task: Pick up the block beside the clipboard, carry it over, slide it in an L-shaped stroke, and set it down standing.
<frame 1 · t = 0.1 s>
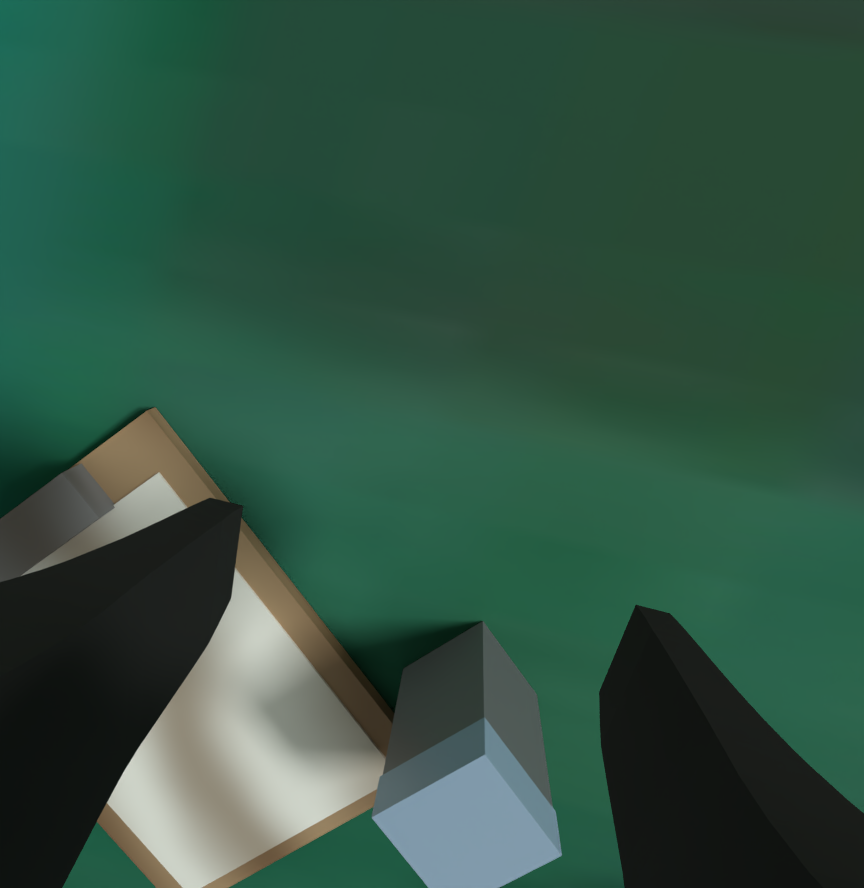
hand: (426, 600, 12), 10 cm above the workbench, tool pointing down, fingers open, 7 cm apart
block: (469, 681, 24), on the workbench
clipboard: (172, 677, 25), on the workbench
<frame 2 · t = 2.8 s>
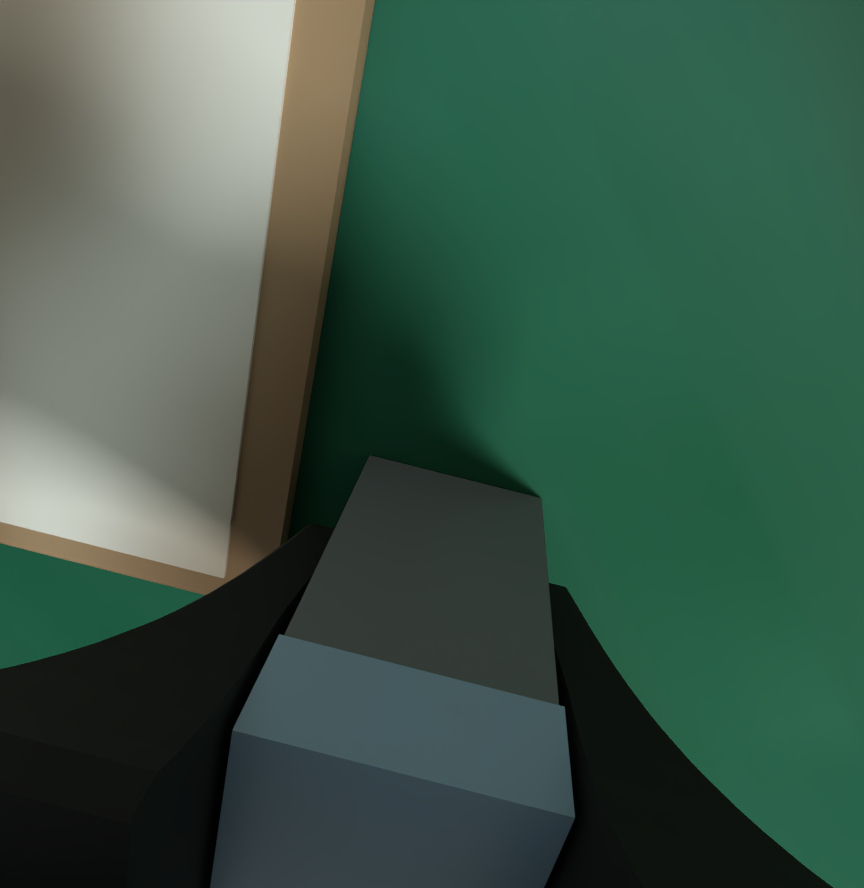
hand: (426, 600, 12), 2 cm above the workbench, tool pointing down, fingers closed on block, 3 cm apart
block: (435, 550, 14), on the workbench, touching gripper
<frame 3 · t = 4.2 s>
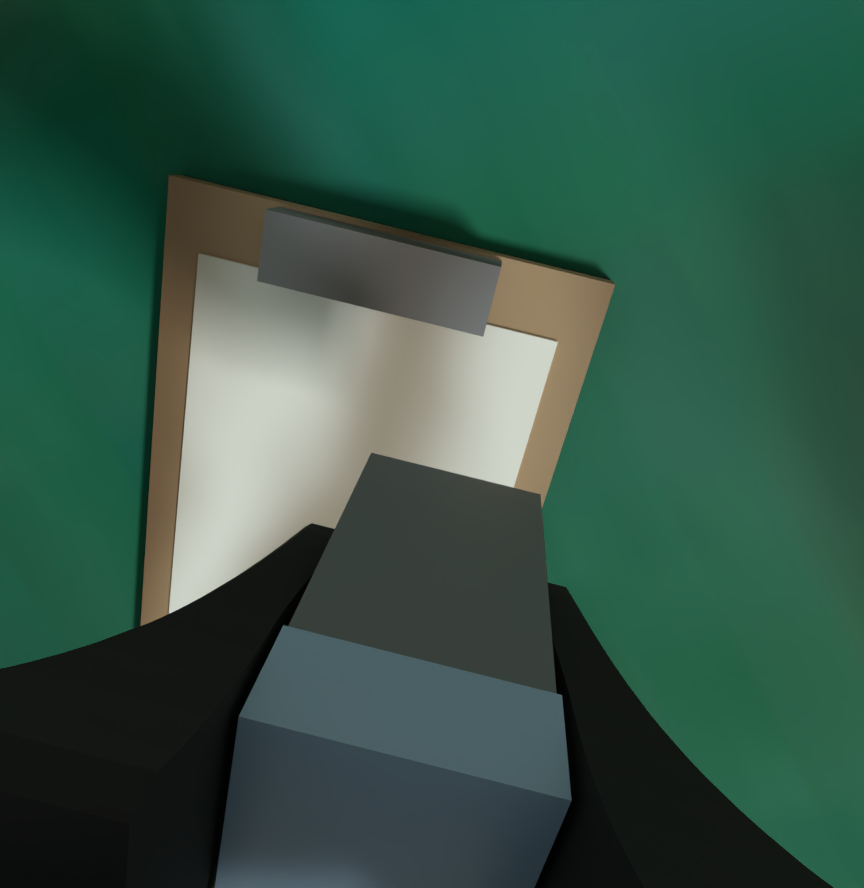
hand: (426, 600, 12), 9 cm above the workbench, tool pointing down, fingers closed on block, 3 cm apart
block: (436, 546, 14), point 7 cm above the workbench, touching gripper
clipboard: (344, 485, 22), on the workbench
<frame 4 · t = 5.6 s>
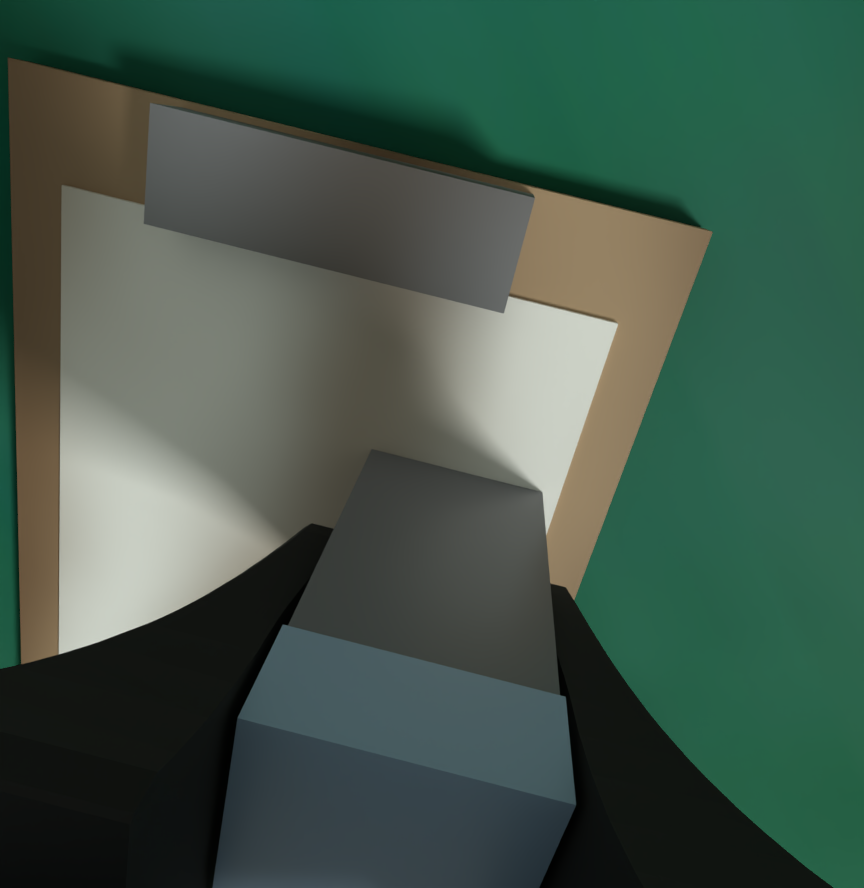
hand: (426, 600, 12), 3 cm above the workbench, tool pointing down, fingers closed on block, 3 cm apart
block: (437, 543, 14), point 1 cm above the workbench, touching gripper
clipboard: (299, 533, 15), on the workbench
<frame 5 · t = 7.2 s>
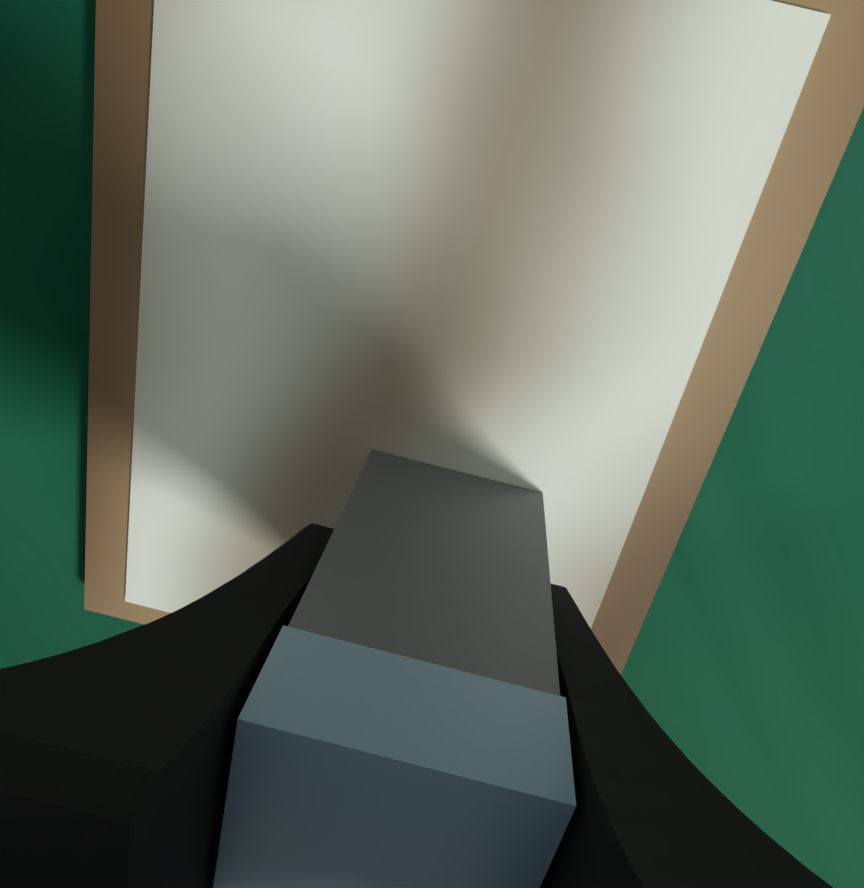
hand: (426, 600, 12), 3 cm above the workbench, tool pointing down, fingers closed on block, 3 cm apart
block: (437, 544, 14), point 1 cm above the workbench, touching gripper
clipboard: (412, 331, 13), on the workbench
when the fingers open (3 cm above the workbench, at t = 8.7 s): block stays where it is, resting on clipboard.
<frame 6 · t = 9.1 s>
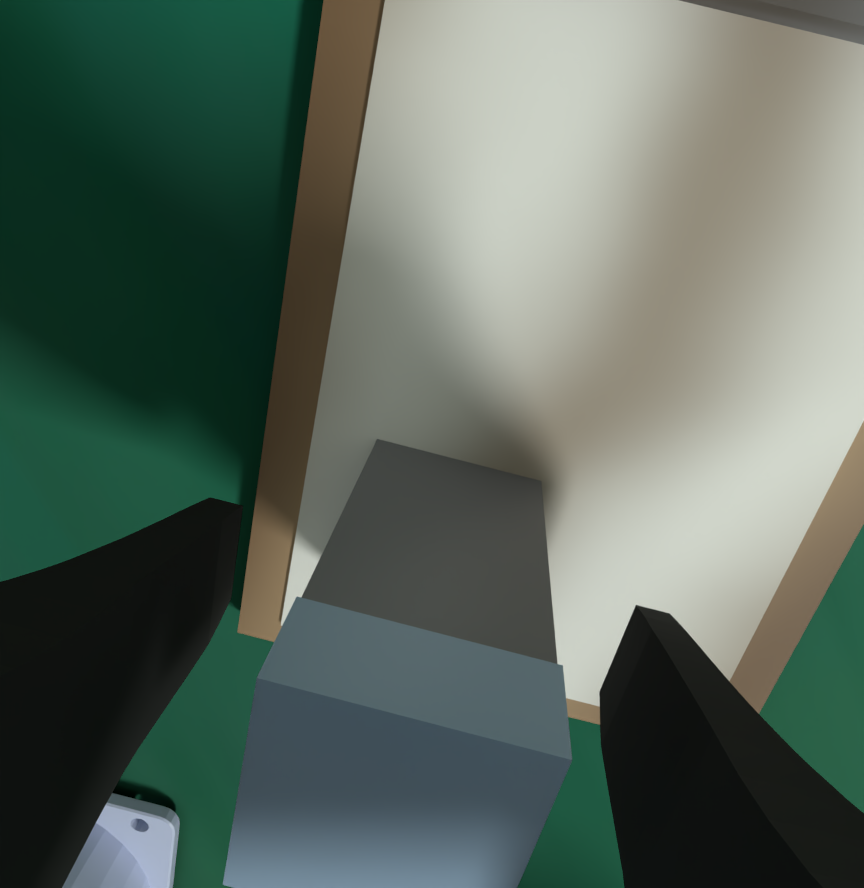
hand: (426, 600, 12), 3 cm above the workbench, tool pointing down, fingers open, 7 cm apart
block: (439, 531, 15), point 1 cm above the workbench, touching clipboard
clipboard: (586, 369, 14), on the workbench
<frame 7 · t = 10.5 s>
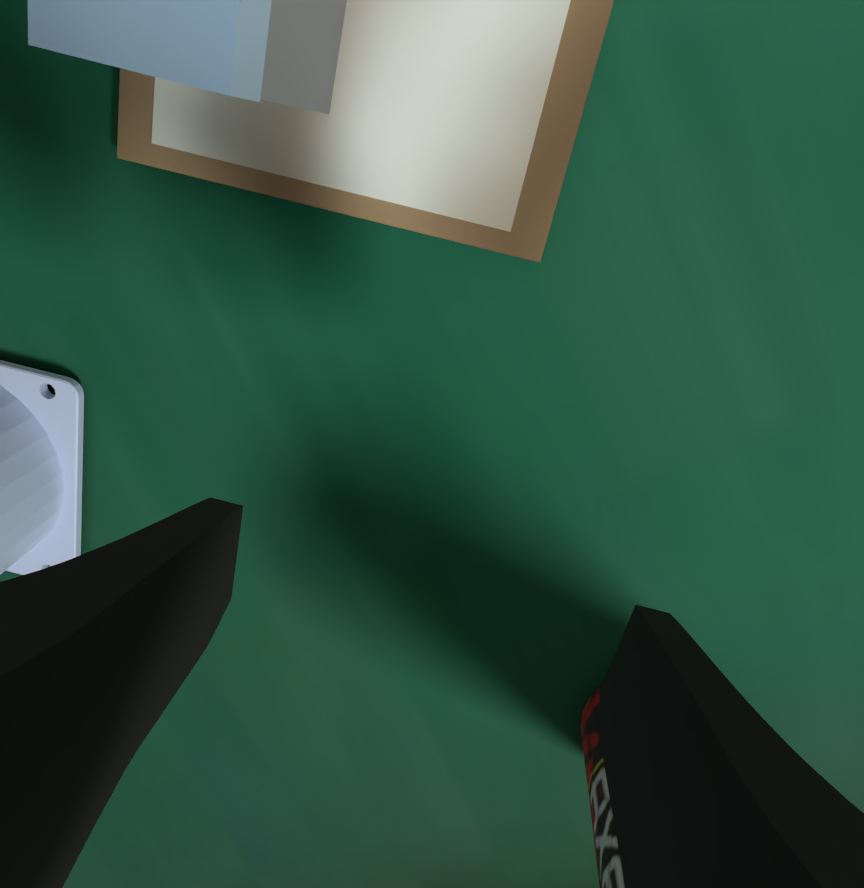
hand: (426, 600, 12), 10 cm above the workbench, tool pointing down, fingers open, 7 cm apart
block: (274, 24, 17), point 1 cm above the workbench, touching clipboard
deodorant: (662, 722, 26), on the workbench
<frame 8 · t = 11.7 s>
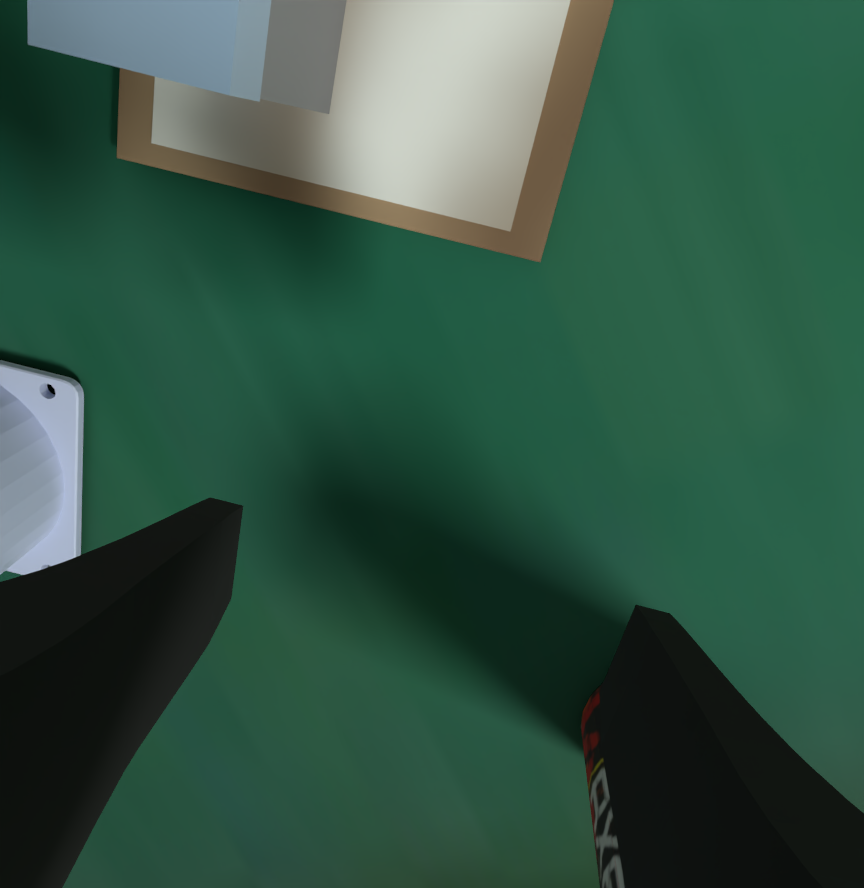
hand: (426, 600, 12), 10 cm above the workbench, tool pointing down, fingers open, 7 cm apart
block: (274, 24, 17), point 1 cm above the workbench, touching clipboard
deodorant: (662, 722, 26), on the workbench
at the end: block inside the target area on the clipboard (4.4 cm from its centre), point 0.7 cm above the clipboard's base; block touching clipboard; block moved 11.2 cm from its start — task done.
